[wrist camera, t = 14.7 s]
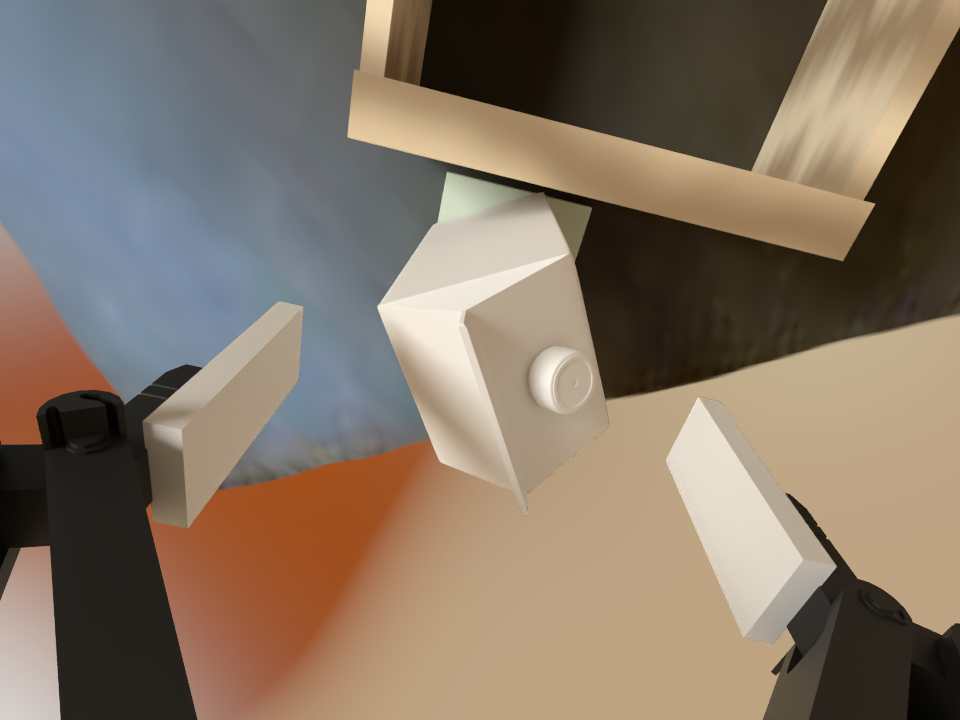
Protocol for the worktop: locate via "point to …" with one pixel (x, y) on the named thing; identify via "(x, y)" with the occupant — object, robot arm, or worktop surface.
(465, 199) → the place mat
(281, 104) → the worktop surface
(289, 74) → the worktop surface
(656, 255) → the worktop surface
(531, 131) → the crate
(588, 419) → the milk carton
